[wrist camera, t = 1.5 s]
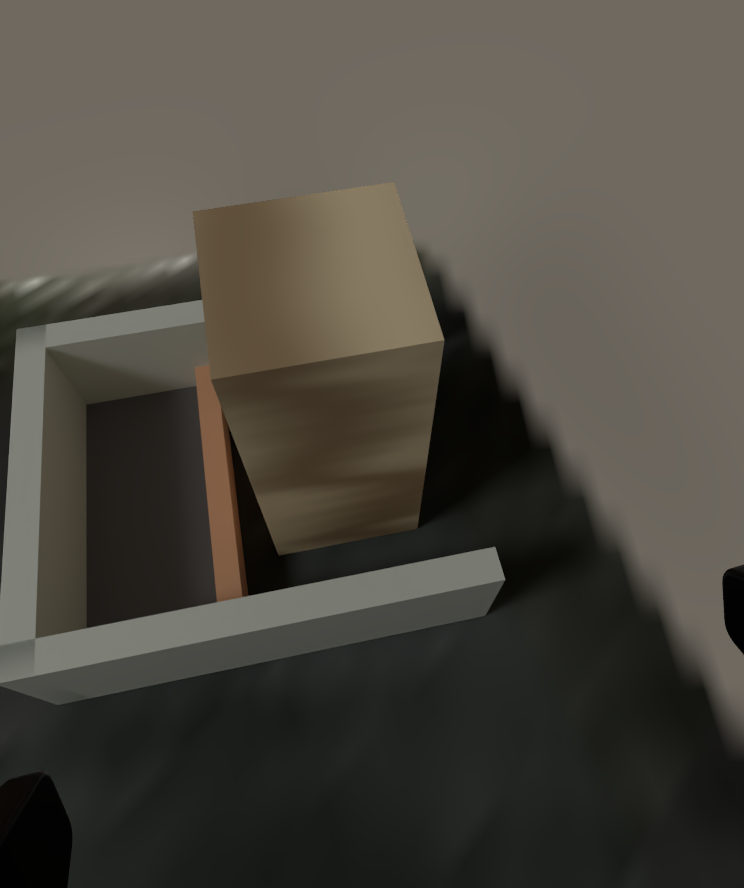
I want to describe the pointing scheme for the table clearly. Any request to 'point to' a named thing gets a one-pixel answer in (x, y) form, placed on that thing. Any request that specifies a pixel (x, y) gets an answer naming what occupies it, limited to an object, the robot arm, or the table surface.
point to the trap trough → (161, 526)
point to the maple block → (323, 359)
